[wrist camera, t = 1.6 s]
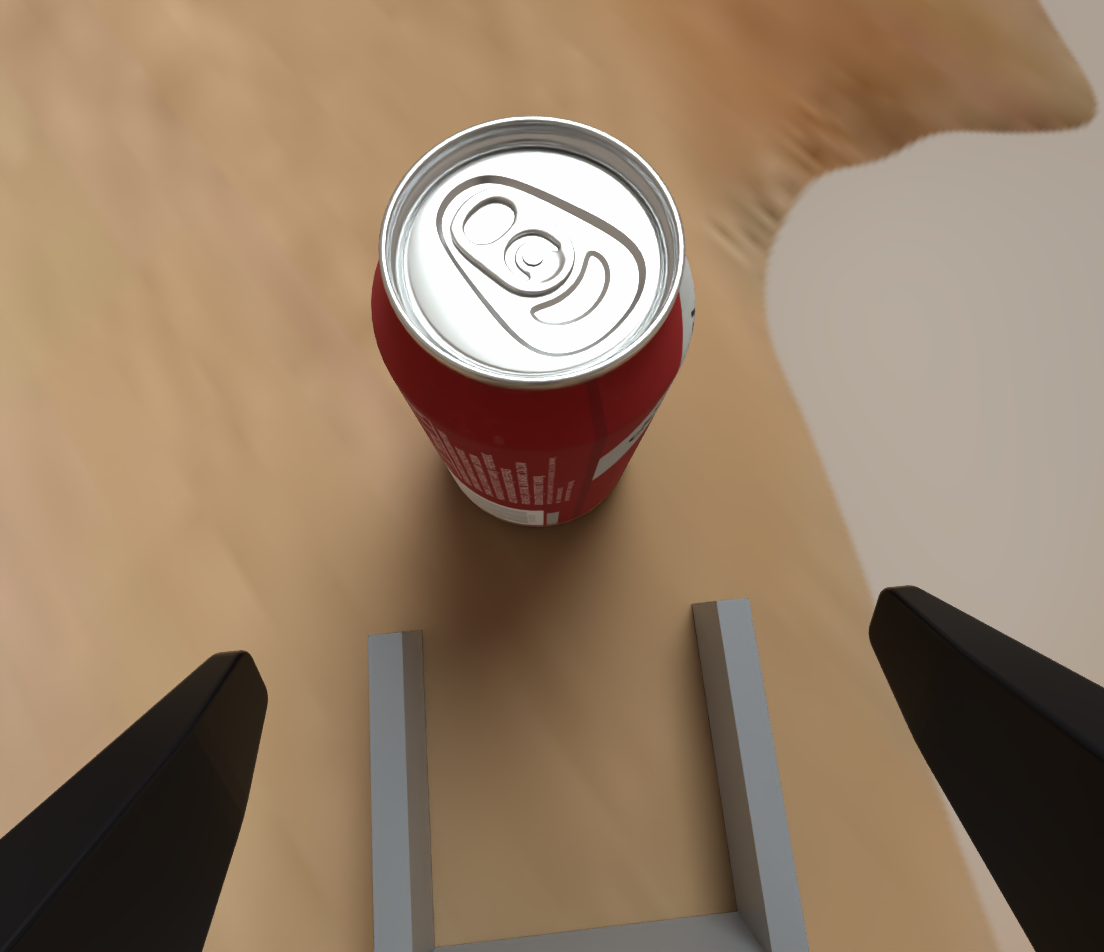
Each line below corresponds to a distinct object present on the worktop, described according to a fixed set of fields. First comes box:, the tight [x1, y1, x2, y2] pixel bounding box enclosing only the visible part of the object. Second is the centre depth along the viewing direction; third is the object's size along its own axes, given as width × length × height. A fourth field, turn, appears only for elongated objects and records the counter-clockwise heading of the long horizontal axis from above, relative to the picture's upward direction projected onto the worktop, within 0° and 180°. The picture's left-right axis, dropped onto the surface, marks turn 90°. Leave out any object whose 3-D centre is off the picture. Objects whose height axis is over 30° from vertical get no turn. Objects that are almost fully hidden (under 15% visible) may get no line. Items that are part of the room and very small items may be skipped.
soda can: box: [371, 116, 695, 527], centre depth 16 cm, size 7×7×12 cm
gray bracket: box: [368, 598, 809, 952], centre depth 18 cm, size 10×12×3 cm
